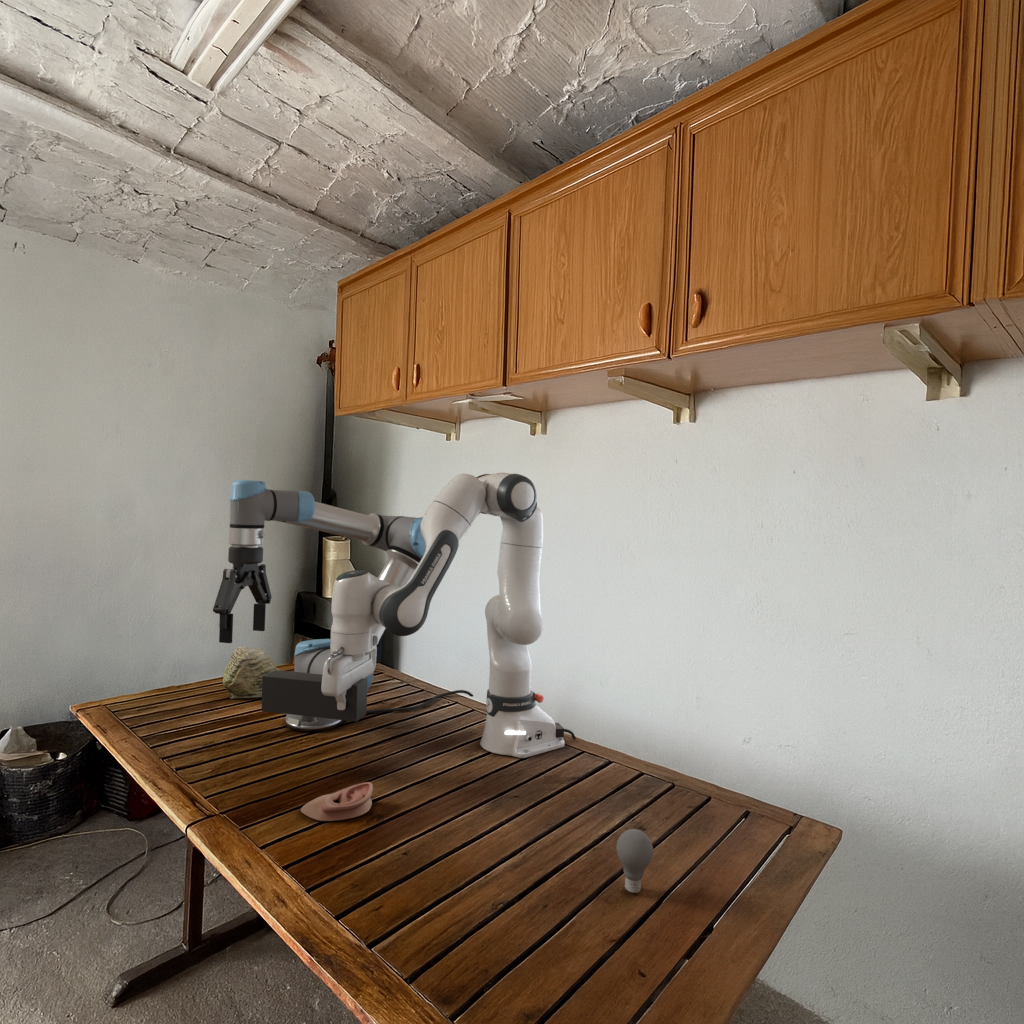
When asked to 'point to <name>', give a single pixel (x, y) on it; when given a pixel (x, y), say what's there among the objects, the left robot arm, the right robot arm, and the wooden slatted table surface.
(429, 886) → the wooden slatted table surface
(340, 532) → the left robot arm
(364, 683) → the bar
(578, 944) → the wooden slatted table surface
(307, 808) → the anatomical model
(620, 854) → the light bulb
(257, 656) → the fossil
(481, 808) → the wooden slatted table surface
